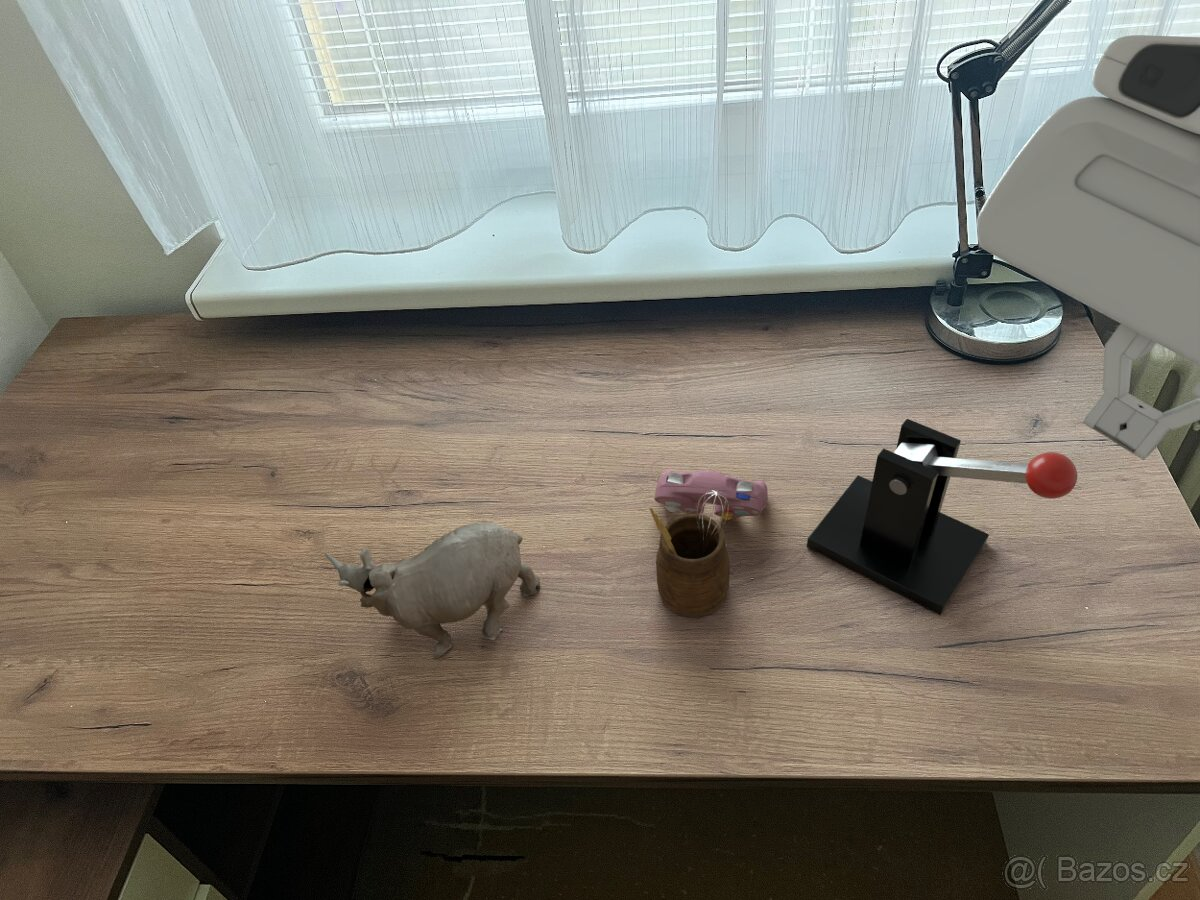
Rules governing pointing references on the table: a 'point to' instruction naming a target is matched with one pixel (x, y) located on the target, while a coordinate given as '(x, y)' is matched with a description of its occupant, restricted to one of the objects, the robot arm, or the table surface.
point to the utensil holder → (692, 563)
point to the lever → (1001, 469)
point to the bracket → (902, 526)
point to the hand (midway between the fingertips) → (1115, 439)
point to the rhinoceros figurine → (445, 581)
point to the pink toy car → (711, 493)
